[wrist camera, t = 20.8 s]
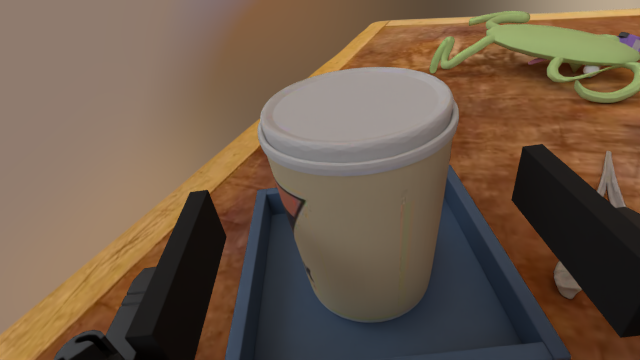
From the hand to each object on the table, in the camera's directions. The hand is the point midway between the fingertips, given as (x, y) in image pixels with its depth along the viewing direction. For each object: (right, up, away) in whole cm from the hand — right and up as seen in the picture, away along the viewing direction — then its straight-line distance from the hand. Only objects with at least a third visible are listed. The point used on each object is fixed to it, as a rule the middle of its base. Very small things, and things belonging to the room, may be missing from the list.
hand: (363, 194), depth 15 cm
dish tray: (+1, -6, +8) cm, 10 cm away
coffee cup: (+1, -6, +8) cm, 10 cm away
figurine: (+27, +16, +34) cm, 47 cm away
